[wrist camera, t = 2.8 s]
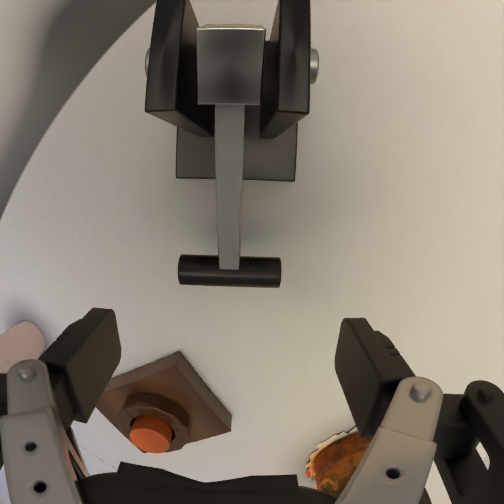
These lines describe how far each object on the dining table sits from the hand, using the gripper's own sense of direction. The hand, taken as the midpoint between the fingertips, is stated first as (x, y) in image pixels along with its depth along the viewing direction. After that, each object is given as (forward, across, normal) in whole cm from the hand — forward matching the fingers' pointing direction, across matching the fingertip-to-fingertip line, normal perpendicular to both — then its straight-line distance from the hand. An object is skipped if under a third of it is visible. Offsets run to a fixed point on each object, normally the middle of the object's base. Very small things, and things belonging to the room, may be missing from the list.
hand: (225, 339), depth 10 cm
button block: (+13, +7, +16) cm, 22 cm away
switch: (+6, 0, -6) cm, 8 cm away
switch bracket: (+13, 0, -10) cm, 16 cm away
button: (+9, +7, +16) cm, 20 cm away
